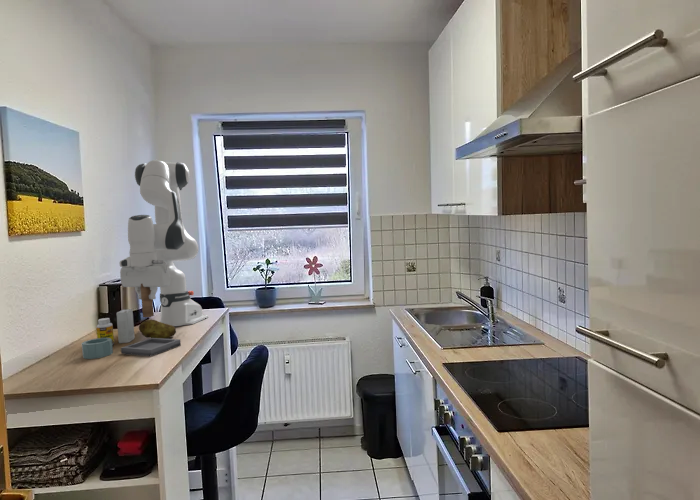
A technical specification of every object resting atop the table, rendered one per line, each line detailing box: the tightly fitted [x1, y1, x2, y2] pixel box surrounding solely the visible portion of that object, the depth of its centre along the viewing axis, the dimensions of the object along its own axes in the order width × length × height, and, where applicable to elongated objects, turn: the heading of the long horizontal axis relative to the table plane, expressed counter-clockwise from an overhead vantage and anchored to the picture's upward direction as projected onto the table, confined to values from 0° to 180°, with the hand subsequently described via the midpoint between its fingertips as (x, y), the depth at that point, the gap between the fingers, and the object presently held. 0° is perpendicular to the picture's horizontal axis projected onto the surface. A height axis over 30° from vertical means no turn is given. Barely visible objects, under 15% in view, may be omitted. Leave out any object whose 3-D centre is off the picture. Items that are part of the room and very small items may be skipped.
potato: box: [138, 319, 177, 339], centre depth 193 cm, size 8×13×8 cm, turn 95°
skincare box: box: [116, 308, 135, 344], centre depth 192 cm, size 6×4×12 cm
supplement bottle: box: [95, 317, 115, 346], centre depth 187 cm, size 6×6×10 cm
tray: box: [120, 337, 182, 357], centre depth 177 cm, size 14×14×2 cm
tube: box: [81, 338, 114, 360], centre depth 174 cm, size 9×9×5 cm
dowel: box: [140, 284, 154, 318], centre depth 175 cm, size 4×4×12 cm
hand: (147, 299), depth 176 cm, fingers closed on dowel, 4 cm apart
